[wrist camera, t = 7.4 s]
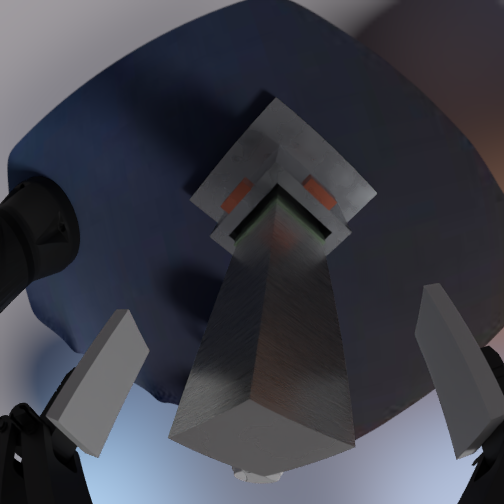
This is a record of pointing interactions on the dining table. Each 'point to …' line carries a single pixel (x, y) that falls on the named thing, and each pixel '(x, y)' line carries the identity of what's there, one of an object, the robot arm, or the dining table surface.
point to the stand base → (282, 178)
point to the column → (270, 352)
